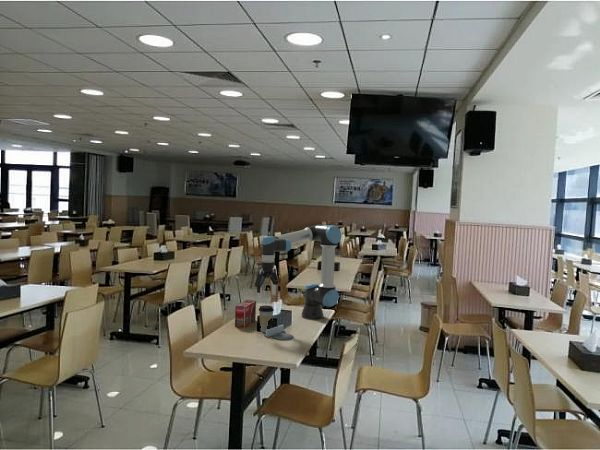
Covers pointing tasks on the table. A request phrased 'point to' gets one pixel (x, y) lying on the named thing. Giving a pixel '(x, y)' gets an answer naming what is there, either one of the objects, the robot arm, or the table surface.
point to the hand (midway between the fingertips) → (266, 296)
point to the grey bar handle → (274, 330)
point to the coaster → (283, 336)
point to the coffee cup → (265, 316)
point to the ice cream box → (245, 313)
